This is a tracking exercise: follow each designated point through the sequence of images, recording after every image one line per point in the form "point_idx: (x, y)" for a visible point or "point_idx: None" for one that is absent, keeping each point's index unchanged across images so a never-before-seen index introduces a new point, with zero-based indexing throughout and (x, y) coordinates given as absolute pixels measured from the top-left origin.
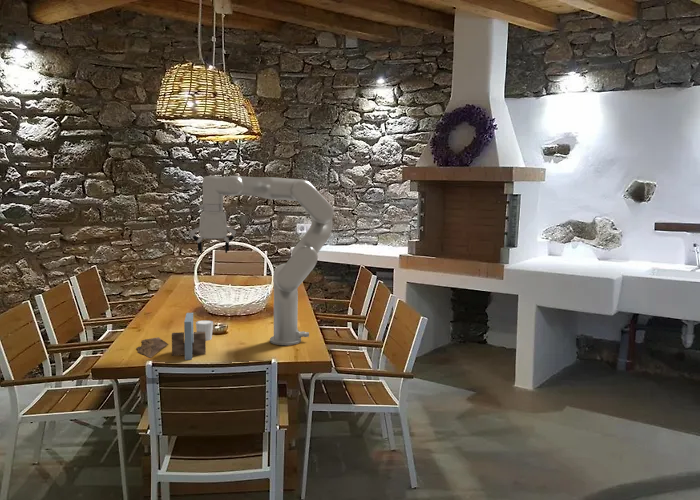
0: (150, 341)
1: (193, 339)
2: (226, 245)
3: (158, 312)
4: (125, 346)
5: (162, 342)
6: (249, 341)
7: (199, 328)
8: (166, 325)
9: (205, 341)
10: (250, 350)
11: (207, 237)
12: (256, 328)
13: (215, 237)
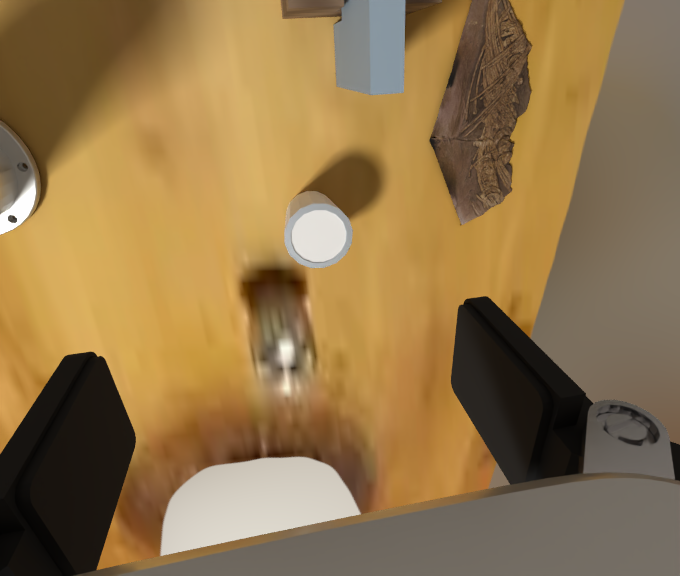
0: (486, 172)
1: (343, 87)
2: (14, 449)
3: (462, 465)
4: (560, 130)
5: (448, 161)
6: (131, 176)
7: (333, 203)
8: (440, 357)
9: (285, 5)
10: (90, 32)
11: (508, 498)
12: (146, 341)
13: (239, 550)
